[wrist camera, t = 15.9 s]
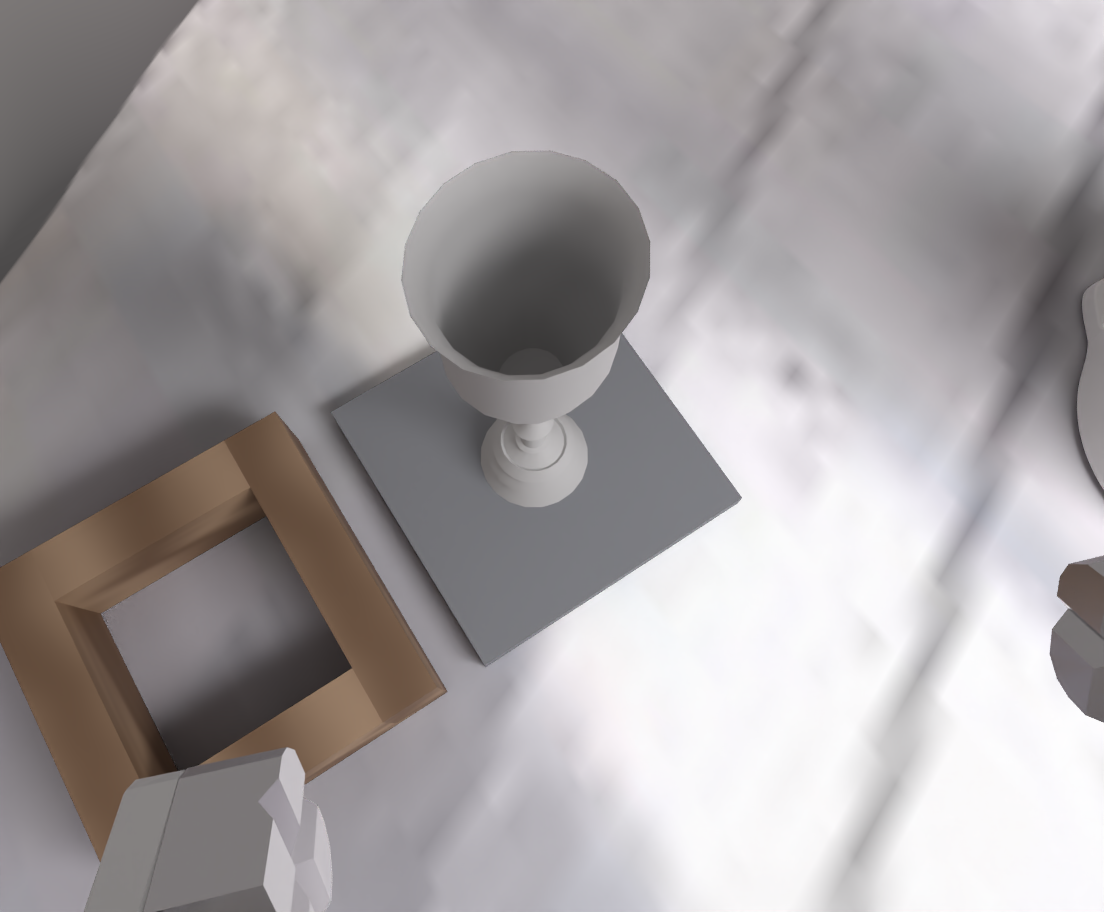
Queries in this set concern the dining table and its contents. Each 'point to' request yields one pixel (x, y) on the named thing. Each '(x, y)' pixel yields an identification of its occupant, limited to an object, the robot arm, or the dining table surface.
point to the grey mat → (533, 532)
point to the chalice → (528, 304)
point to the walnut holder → (161, 547)
